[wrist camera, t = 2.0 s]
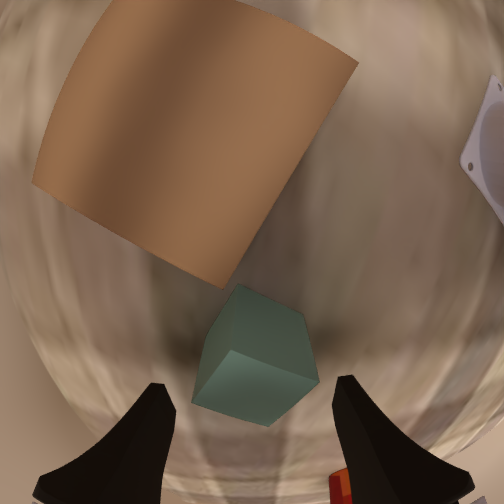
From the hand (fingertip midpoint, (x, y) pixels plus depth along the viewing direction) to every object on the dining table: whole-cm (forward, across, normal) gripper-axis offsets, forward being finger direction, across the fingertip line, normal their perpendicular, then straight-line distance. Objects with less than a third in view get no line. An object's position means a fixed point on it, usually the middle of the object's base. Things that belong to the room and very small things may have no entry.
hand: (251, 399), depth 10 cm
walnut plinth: (+5, +2, -11) cm, 12 cm away
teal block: (+5, 0, 0) cm, 5 cm away
